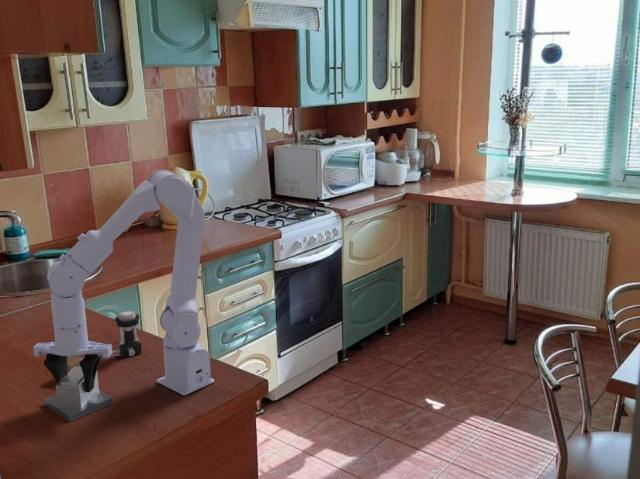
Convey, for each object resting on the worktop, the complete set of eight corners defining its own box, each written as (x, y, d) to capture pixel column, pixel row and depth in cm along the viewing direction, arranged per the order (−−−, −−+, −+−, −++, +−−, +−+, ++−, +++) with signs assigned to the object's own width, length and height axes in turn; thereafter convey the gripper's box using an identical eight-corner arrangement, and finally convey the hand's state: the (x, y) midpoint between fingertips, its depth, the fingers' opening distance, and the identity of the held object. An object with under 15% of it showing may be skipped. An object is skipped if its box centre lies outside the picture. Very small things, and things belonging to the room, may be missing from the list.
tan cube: (86, 375, 130) (84, 358, 129) (71, 383, 127) (69, 365, 126) (72, 371, 132) (71, 354, 131) (58, 379, 128) (56, 362, 128)
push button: (115, 362, 136) (111, 320, 134) (109, 353, 141) (106, 313, 138) (145, 355, 140) (141, 314, 138) (138, 347, 144) (135, 307, 142)
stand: (113, 403, 118) (113, 397, 118) (69, 421, 112) (69, 416, 111) (87, 387, 125) (86, 382, 124) (44, 404, 118) (43, 398, 118)
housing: (81, 407, 114) (78, 384, 113) (58, 407, 114) (55, 384, 113) (98, 387, 122) (96, 365, 121) (77, 387, 122) (74, 365, 121)
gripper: (115, 317, 118) (121, 381, 121) (43, 315, 118) (50, 379, 122) (101, 330, 111) (107, 398, 114) (24, 329, 112) (32, 396, 115)
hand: (77, 389), depth 117 cm, fingers closed on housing, 4 cm apart
